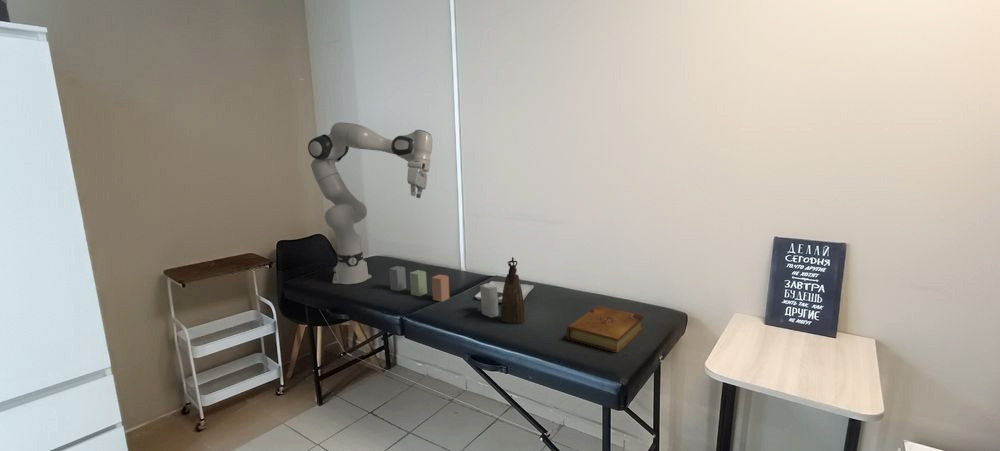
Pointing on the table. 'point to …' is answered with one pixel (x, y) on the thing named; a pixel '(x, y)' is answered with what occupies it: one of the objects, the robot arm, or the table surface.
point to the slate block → (397, 278)
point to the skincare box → (489, 300)
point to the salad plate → (500, 287)
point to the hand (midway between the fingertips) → (415, 196)
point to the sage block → (418, 283)
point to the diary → (605, 328)
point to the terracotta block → (440, 287)
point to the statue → (512, 298)
